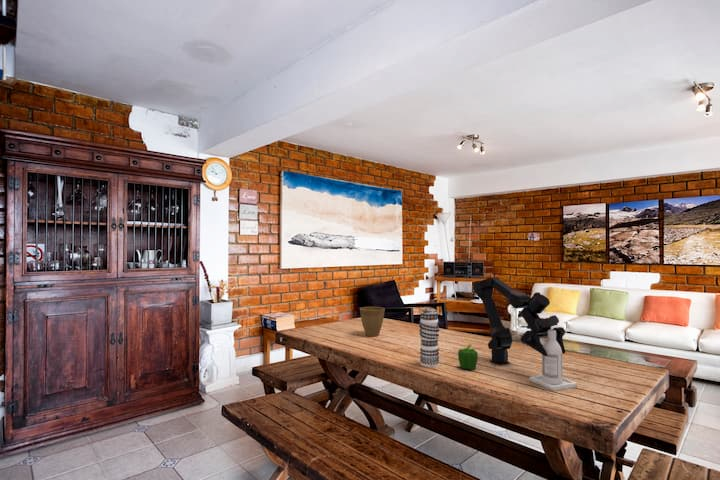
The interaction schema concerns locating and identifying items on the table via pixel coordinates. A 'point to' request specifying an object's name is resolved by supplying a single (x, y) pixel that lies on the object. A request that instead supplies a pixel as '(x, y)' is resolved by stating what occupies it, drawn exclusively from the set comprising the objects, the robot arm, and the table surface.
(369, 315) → the plant pot
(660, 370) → the table surface
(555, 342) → the bath foam
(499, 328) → the robot arm
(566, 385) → the tray
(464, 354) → the bell pepper
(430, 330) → the leaning tower model
